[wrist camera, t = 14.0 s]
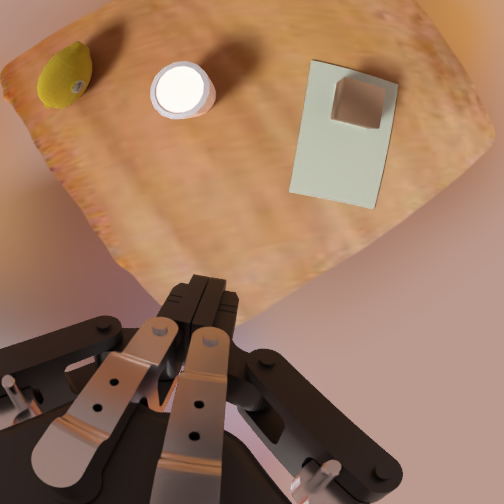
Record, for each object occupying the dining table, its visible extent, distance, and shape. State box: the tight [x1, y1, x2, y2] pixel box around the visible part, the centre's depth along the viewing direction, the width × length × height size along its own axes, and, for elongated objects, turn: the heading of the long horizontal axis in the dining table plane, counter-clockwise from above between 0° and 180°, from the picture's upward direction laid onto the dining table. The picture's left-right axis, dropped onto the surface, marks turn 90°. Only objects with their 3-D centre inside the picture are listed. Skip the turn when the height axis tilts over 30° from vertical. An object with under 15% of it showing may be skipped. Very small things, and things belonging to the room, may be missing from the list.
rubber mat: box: [289, 60, 398, 209], centre depth 34 cm, size 18×12×1 cm, turn 172°
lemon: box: [37, 42, 92, 108], centre depth 29 cm, size 11×8×8 cm
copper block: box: [330, 77, 386, 129], centre depth 30 cm, size 5×5×5 cm
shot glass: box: [150, 61, 216, 119], centre depth 31 cm, size 7×7×7 cm
